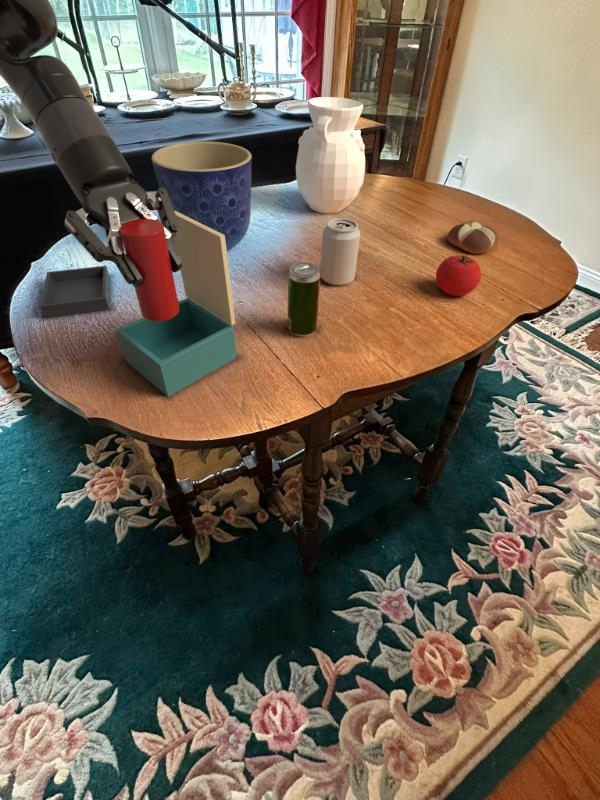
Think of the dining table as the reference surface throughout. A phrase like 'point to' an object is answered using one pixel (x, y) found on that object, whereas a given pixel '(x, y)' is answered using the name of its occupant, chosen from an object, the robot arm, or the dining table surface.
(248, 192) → the planter
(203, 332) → the teal open box
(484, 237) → the bread
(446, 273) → the tomato
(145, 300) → the plain red cylinder
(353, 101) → the white vase
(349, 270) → the can
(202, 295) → the lid
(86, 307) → the tray
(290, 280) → the beer can
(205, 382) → the dining table surface
